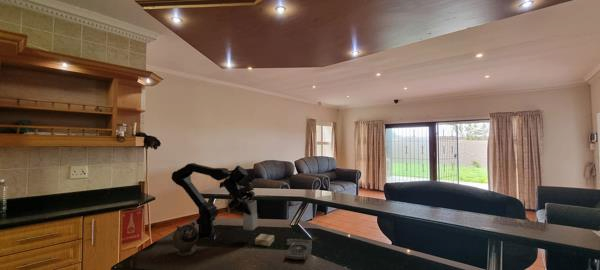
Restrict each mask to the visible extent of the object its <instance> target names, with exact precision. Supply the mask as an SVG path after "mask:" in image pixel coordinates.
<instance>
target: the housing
mask: <svg viewBox="0 0 600 270" xmlns="http://www.w3.org/2000/svg"><path fill="white" fill-rule="evenodd" d="M257 202H258V201H257V200H256V199H253V200H248V201H246V202H245V205H246V206H247V208H248V209H249V211H250V213H251V214H250V215H248V214H245V213H243V216H242V217H243V218H242V222H243V223H242V225H243V226H242V230H244V231H254V230H255V229H256V228H258V227H259V226H258V212H257V211H258V209H257V205H258V203H257Z"/></svg>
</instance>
